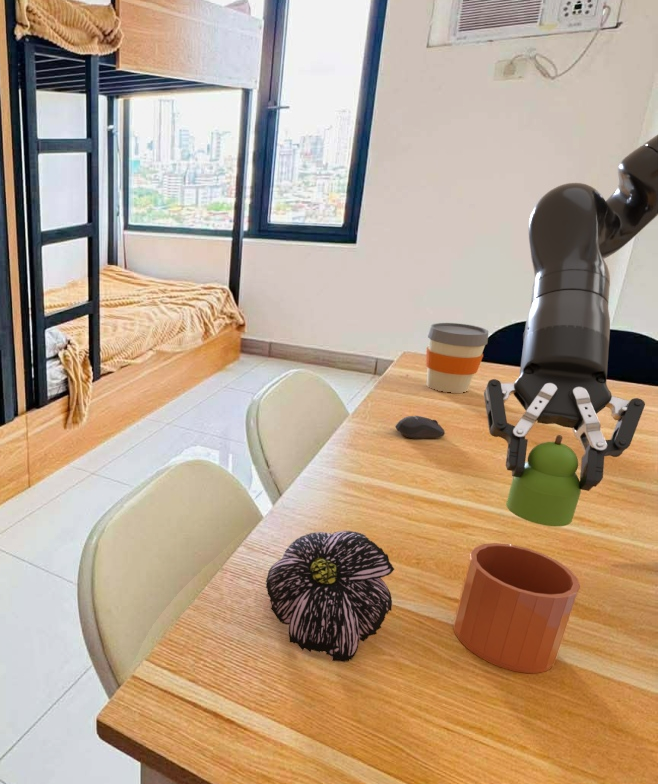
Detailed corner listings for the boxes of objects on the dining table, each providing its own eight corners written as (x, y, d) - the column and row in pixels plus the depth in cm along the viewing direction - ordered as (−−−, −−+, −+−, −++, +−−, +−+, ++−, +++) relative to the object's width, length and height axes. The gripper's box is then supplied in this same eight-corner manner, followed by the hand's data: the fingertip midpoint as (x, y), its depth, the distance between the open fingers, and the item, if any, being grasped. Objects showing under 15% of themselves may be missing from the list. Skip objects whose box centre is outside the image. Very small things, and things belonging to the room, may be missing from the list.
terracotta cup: (564, 641, 73) (588, 569, 69) (543, 688, 66) (568, 610, 63) (468, 601, 80) (485, 533, 76) (440, 639, 73) (458, 567, 70)
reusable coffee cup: (410, 386, 156) (421, 328, 151) (429, 376, 164) (440, 320, 159) (466, 399, 148) (480, 338, 143) (483, 387, 156) (496, 328, 151)
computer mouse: (448, 439, 126) (452, 421, 125) (404, 440, 126) (407, 422, 125) (431, 428, 132) (435, 410, 130) (389, 429, 131) (392, 412, 130)
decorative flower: (238, 546, 74) (335, 490, 78) (235, 597, 82) (323, 543, 86) (330, 648, 64) (436, 577, 68) (317, 695, 72) (413, 629, 76)
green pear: (577, 512, 67) (601, 435, 64) (564, 533, 63) (589, 452, 60) (514, 493, 71) (533, 419, 68) (499, 511, 68) (518, 434, 64)
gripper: (495, 315, 70) (476, 453, 64) (663, 330, 64) (658, 485, 58) (483, 349, 76) (464, 477, 71) (634, 366, 70) (627, 509, 64)
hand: (551, 480), depth 64 cm, fingers closed on green pear, 5 cm apart
